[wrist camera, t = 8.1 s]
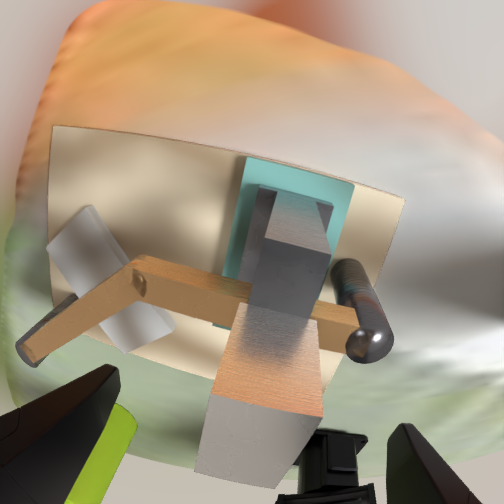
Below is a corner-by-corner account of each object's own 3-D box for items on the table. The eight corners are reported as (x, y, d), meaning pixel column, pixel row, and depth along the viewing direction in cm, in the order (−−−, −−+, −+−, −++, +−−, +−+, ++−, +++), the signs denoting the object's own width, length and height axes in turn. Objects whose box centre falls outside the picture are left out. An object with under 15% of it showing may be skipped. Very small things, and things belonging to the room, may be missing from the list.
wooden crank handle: (365, 288, 19) (392, 359, 13) (74, 317, 24) (25, 366, 17) (357, 192, 17) (393, 228, 11) (48, 250, 22) (-14, 288, 15)
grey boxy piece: (230, 314, 20) (168, 489, 9) (260, 183, 17) (186, 295, 5) (291, 329, 20) (277, 513, 8) (331, 202, 17) (400, 346, 5)
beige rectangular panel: (317, 394, 24) (318, 411, 23) (61, 316, 25) (49, 327, 23) (400, 196, 18) (411, 203, 16) (61, 125, 19) (44, 126, 17)
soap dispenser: (92, 421, 31) (22, 542, 13) (91, 390, 29) (2, 529, 10) (135, 442, 31) (74, 572, 13) (139, 414, 29) (63, 568, 10)
